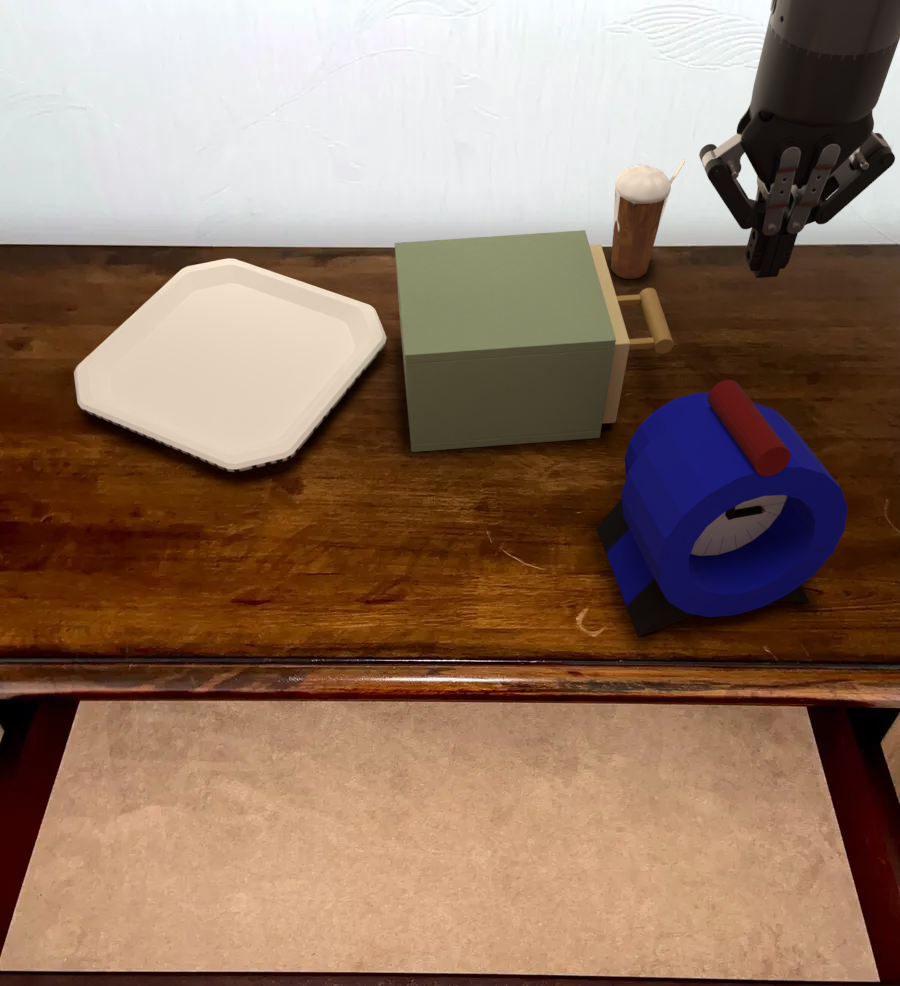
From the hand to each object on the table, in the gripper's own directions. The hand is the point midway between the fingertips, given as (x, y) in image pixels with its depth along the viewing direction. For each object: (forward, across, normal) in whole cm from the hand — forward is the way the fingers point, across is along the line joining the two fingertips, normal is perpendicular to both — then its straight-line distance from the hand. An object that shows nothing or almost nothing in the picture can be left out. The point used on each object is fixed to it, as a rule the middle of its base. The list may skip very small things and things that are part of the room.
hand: (763, 270), depth 69 cm
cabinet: (+9, -20, 0) cm, 22 cm away
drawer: (+8, -16, 0) cm, 18 cm away
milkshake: (+10, -6, +14) cm, 18 cm away
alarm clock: (+10, -7, -19) cm, 22 cm away
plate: (+9, -41, +3) cm, 42 cm away
